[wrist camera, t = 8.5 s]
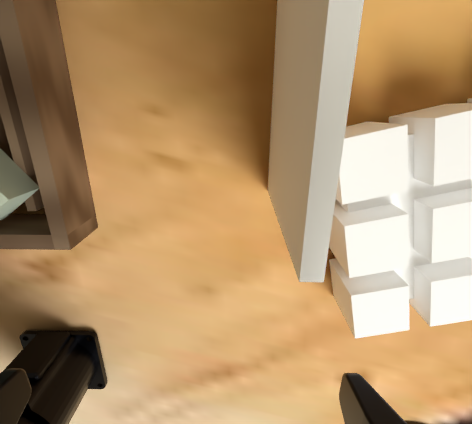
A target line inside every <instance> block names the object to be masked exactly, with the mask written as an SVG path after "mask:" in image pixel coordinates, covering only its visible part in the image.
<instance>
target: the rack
mask: <svg viewBox="0 0 472 424" xmlns="http://www.w3.org/2000/svg"><path fill="white" fill-rule="evenodd" d="M0 148H1V149H2V150H3V151H4V152H5V153H6V154H7V155H8V156H9V157H10V158H11V159H12V160H13V161H14V162H15V163H16V164H17V165H18V166H19V167H20V168H21V169H22V170H23V171H24V172H25V173H26V174H27V175H28V176H29V177H30V178H31V179H32V180H33V181H34V182H35V183H36V184H37V185H38V186H39V189H38V190H37V191H36V192H35V193H34V194H32V195H31V196H30V197H29V198H28V199H27V200H26V201H24V202H23V203H22V204H24V203H25V204H26V207H27V211H38V210H40V209H42V208H44V209H45V213H46V214H10V215H8V216H7V217H6V218H4V219H2V220H0V249H54V250H71V249H72V248H73V247H75V246H76V245H77V244H78V243H79V242H81V241H82V240H83V239H84V238H86V237H87V236H88V235H89V234H90V233H92V232H93V231H94V230H95V229H97V228H98V225H97V219H96V214H95V209H94V204H93V198H92V193H91V188H90V182H89V177H88V172H87V166H86V161H85V156H84V150H83V145H82V140H81V134H80V129H79V124H78V118H77V113H76V108H75V103H74V97H73V92H72V87H71V81H70V76H69V71H68V65H67V60H66V55H65V49H64V44H63V39H62V33H61V28H60V23H59V17H58V12H57V7H56V1H55V0H0Z"/></svg>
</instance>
